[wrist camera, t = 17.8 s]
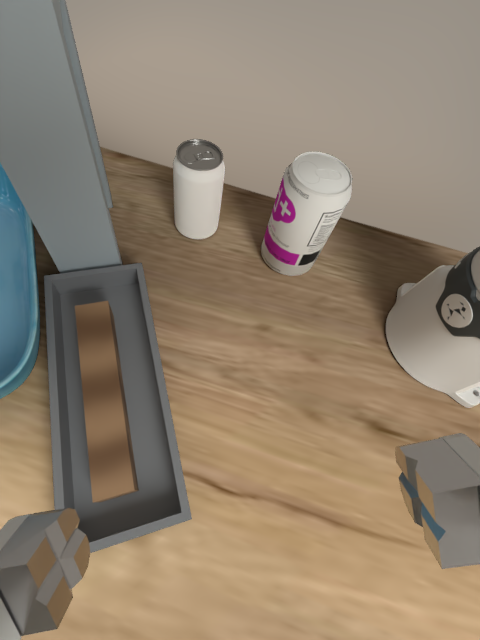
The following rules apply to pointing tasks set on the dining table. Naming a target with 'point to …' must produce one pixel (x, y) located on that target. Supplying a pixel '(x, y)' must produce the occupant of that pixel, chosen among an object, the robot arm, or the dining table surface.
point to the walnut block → (104, 404)
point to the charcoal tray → (141, 400)
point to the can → (197, 188)
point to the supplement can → (305, 212)
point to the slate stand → (53, 136)
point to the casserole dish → (17, 290)
